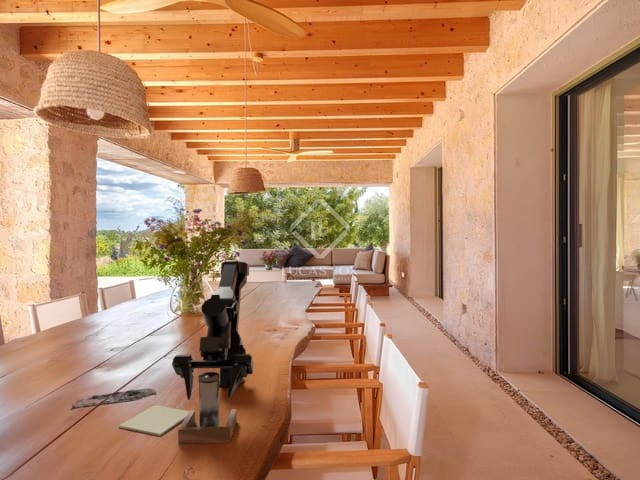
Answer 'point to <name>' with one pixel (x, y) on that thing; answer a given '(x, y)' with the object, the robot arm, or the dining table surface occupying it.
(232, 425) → the cubby
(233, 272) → the robot arm
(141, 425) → the tile
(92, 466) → the dining table surface
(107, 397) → the driftwood
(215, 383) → the canister
